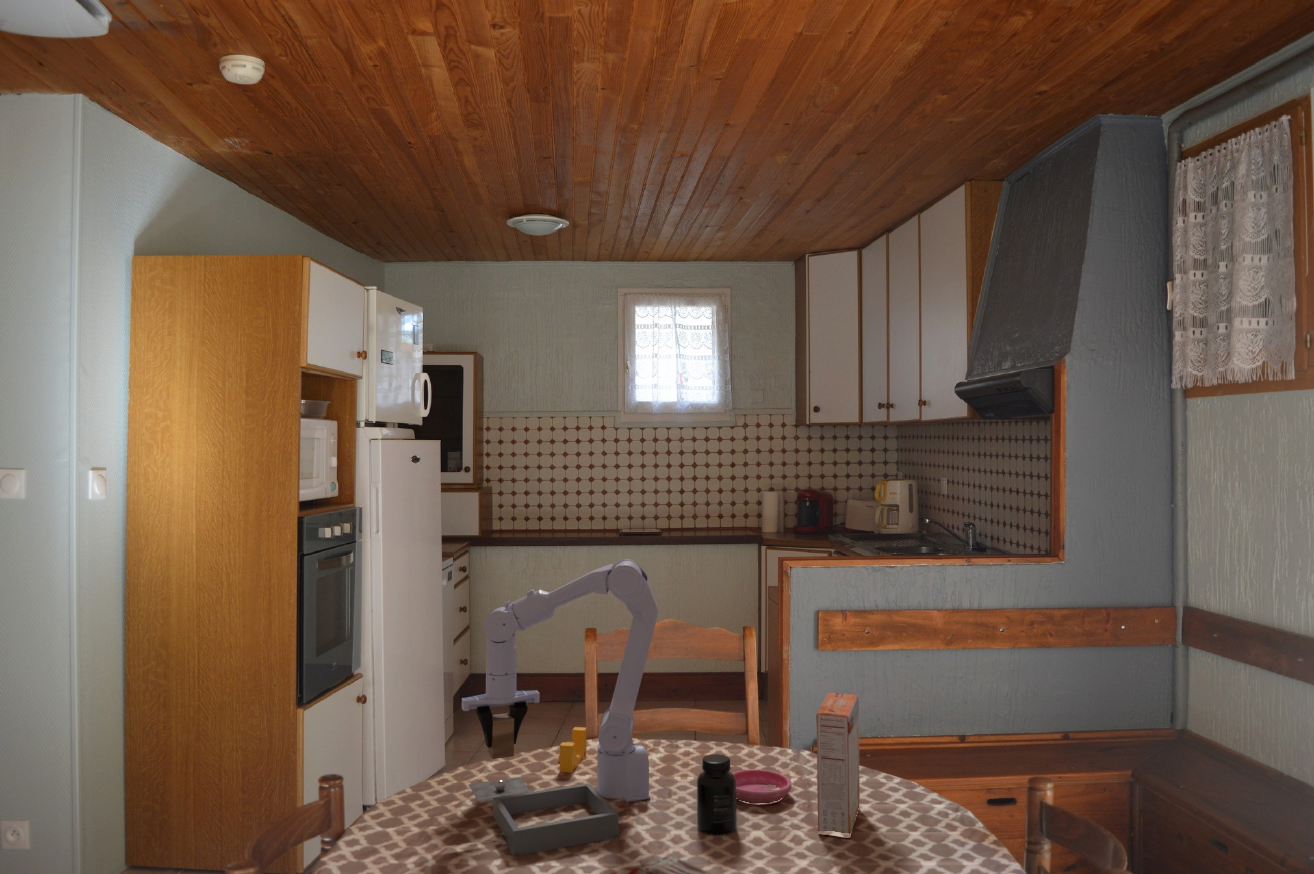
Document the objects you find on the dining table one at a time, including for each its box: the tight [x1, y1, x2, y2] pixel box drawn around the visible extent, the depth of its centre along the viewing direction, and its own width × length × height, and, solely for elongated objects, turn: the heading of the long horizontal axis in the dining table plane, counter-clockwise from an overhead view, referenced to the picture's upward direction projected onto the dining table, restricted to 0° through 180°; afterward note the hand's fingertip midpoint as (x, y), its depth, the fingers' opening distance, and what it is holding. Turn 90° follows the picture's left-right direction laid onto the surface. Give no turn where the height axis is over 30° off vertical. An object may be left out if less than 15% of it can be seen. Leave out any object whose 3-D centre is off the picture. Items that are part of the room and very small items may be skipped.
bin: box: [492, 782, 620, 857], centre depth 152 cm, size 18×15×4 cm
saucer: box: [731, 768, 793, 803], centre depth 168 cm, size 12×12×3 cm
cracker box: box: [815, 692, 861, 834], centre depth 156 cm, size 14×6×21 cm, turn 160°
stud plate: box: [468, 776, 531, 805], centre depth 167 cm, size 10×10×3 cm
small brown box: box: [487, 712, 515, 760], centre depth 168 cm, size 4×4×7 cm
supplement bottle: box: [696, 753, 738, 836], centre depth 153 cm, size 7×7×12 cm
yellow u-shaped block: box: [558, 726, 588, 774], centre depth 183 cm, size 12×4×6 cm, turn 171°
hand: (500, 744), depth 168 cm, fingers closed on small brown box, 4 cm apart
